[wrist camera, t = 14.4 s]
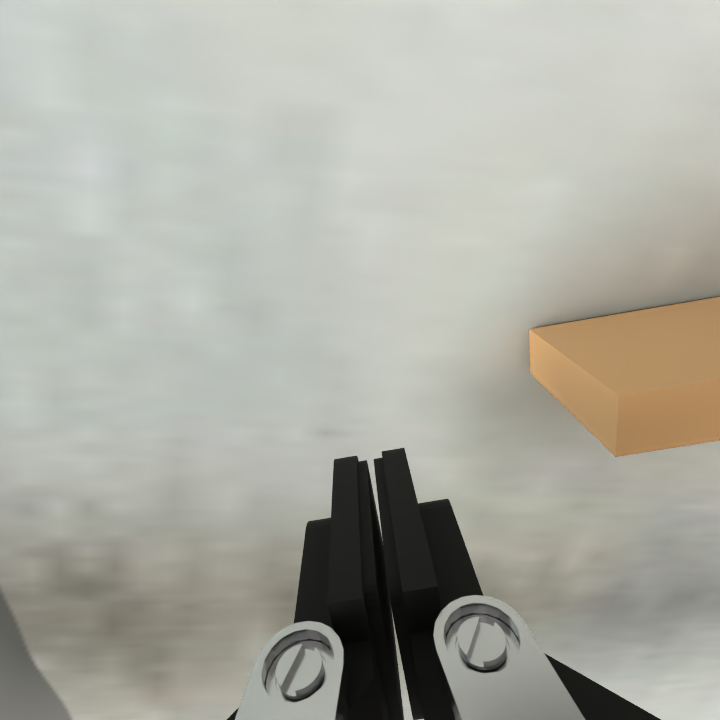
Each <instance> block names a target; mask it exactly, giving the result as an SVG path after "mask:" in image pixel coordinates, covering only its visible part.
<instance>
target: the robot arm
mask: <svg viewBox="0 0 720 720" xmlns="http://www.w3.org/2000/svg"><path fill="white" fill-rule="evenodd" d="M382 457H383V458H378V459H374V466H375V475H376V484H377V493H378V502H379V511H380V520H381V529H382V536H381V531H380V526H379V521H378V516H377V510H376V505H375V500H374V495H373V489H372V484H371V479H370V474H369V469H368V464H367V460H366V461H360V462H359V461H358V457H357V456H352V457H346V458H340V459H335V460H334V470H333V490H332V511H331V518H327V519H321V520H314V521H309V522H308V523H307V526H306V533H305V541H304V548H303V556H302V564H301V572H300V580H299V588H298V596H297V604H296V611H295V619H294V624H292V625H290V626H288V627H286V628H283V629H282V630H280V631H279V632H278V633H276V634H275V635H274V636H273V637H271V638H270V639H269V641H268V642H267V643H266V644H265V645H264V647H263V648H262V649H261V651H260V653H259V655H258V657H257V659H256V661H255V663H254V665H253V668H252V671H251V674H250V677H249V680H248V683H247V686H246V689H245V691H244V694H243V697H242V700H241V703H240V706H239V708H238V709H237V710H236V711H235V712H234V713H233V714H232V715H231V716H230V717H229V718H228V719H227V720H404V716H403V707H402V698H401V689H400V680H399V671H398V663H397V654H396V645H395V636H394V627H393V619H394V624H395V629H396V634H397V639H398V644H399V649H400V654H401V660H402V665H403V670H404V675H405V680H406V685H407V690H408V695H409V701H410V706H411V711H412V716H413V720H417V719H424V720H661V719H659V718H657V717H655V716H654V715H652V714H650V713H648V712H647V711H645V710H643V709H641V708H639V707H638V706H636V705H634V704H632V703H631V702H629V701H627V700H625V699H624V698H622V697H620V696H618V695H617V694H615V693H613V692H611V691H610V690H608V689H606V688H604V687H603V686H601V685H599V684H597V683H596V682H594V681H592V680H590V679H589V678H587V677H585V676H583V675H582V674H580V673H578V672H576V671H575V670H573V669H571V668H569V667H568V666H566V665H564V664H562V663H560V662H559V661H557V660H555V659H553V658H552V657H550V656H548V655H546V654H545V653H544V652H543V650H542V649H541V647H540V646H539V644H538V642H537V641H536V639H535V637H534V636H533V634H532V633H531V631H530V629H529V628H528V626H527V625H526V623H525V621H524V620H523V619H522V618H521V617H520V615H519V614H518V613H517V612H516V611H515V610H514V609H513V608H511V607H510V606H508V605H507V604H506V603H504V602H502V601H500V600H497V599H495V598H492V597H489V596H483V593H482V591H481V588H480V585H479V582H478V579H477V577H476V574H475V571H474V568H473V565H472V563H471V560H470V557H469V554H468V551H467V549H466V546H465V543H464V540H463V537H462V535H461V532H460V529H459V526H458V523H457V521H456V518H455V515H454V512H453V509H452V507H451V504H450V502H449V500H448V499H444V500H438V501H431V502H425V503H419V504H418V502H417V498H416V494H415V490H414V486H413V482H412V478H411V474H410V470H409V466H408V462H407V458H406V453H405V449H404V448H400V449H394V450H388V451H382ZM382 538H383V542H382ZM391 608H392V610H391ZM392 613H393V619H392Z"/></svg>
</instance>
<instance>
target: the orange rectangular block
mask: <svg viewBox="0 0 720 720" xmlns="http://www.w3.org/2000/svg"><path fill="white" fill-rule="evenodd" d="M529 341H530V373H531V374H532V375H533V376H534V377H535V378H536V379H537V380H538V381H539V382H540V383H541V384H542V385H543V386H544V387H545V388H546V389H547V390H548V391H549V392H550V393H551V394H552V395H553V396H554V397H555V398H556V399H557V400H558V401H559V402H560V403H561V404H562V405H563V406H564V407H565V408H566V409H567V410H568V411H569V412H570V413H571V414H572V415H573V416H574V417H575V418H576V419H577V420H578V421H580V422H581V423H582V424H583V425H584V426H585V427H586V428H587V429H588V430H589V431H590V432H591V433H592V434H593V435H594V436H595V437H596V438H597V439H598V440H599V441H600V442H601V443H602V444H603V445H604V446H605V447H606V448H607V449H608V450H609V451H610V452H611V453H612V454H613V455H614V456H615V457H618V456H624V455H630V454H637V453H643V452H649V451H655V450H662V449H668V448H674V447H680V446H687V445H693V444H699V443H705V442H712V441H718V440H720V297H715V298H709V299H703V300H697V301H691V302H686V303H680V304H674V305H668V306H662V307H656V308H650V309H644V310H639V311H633V312H627V313H621V314H615V315H609V316H603V317H597V318H592V319H586V320H580V321H574V322H568V323H562V324H556V325H551V326H545V327H539V328H533V329H529Z"/></svg>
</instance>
